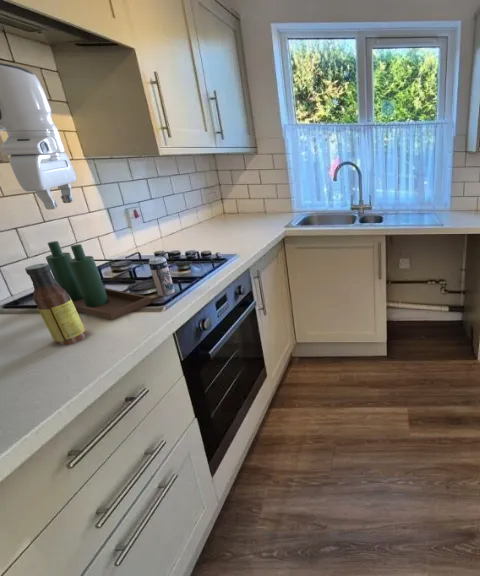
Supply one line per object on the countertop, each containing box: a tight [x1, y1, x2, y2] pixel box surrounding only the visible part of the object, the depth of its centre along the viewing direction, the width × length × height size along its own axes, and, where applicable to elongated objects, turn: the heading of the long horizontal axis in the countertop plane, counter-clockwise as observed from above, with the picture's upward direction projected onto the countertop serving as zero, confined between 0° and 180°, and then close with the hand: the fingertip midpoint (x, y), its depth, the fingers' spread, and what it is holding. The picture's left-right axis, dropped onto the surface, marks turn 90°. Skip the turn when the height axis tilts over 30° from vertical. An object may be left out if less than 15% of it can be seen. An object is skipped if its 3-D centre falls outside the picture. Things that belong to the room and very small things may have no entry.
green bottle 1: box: [45, 240, 83, 301], centre depth 109 cm, size 6×6×18 cm
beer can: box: [148, 255, 176, 297], centre depth 113 cm, size 5×5×12 cm
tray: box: [72, 287, 152, 321], centre depth 108 cm, size 32×12×3 cm, turn 68°
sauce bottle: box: [24, 262, 88, 346], centre depth 86 cm, size 6×6×20 cm
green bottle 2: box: [69, 243, 109, 307], centre depth 105 cm, size 6×6×18 cm
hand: (60, 205), depth 88 cm, fingers open, 8 cm apart
